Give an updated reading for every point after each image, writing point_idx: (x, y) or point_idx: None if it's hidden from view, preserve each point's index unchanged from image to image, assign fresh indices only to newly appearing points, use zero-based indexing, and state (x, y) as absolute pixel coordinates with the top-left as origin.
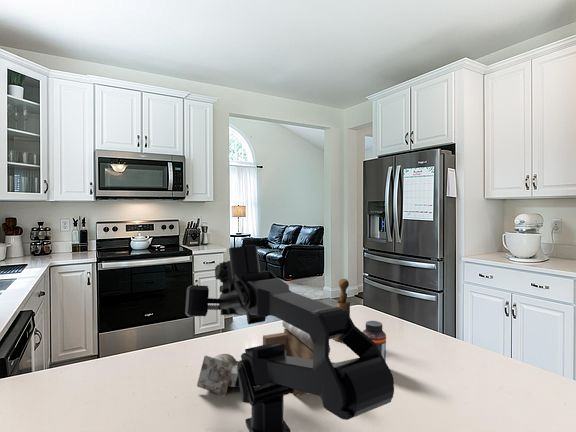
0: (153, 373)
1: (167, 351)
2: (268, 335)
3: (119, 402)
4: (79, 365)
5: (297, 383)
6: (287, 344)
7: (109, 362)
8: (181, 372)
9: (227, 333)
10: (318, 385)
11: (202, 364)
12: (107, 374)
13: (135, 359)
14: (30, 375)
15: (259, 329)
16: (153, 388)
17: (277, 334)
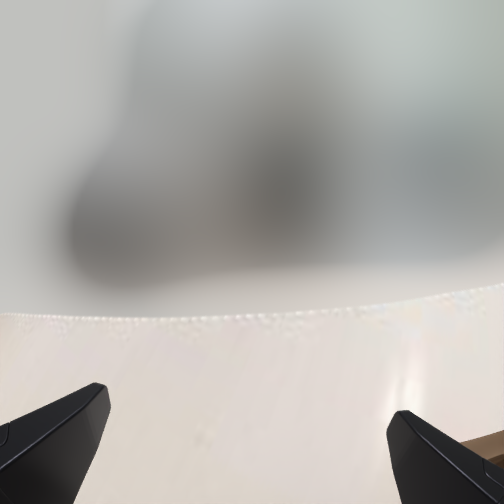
0: (116, 428)
1: (192, 345)
2: (469, 446)
3: None
4: (54, 323)
5: None
6: (501, 464)
7: (85, 336)
8: (171, 464)
9: (354, 310)
10: None
11: None
12: (58, 376)
13: (122, 348)
14: (11, 318)
15: (429, 312)
16: (85, 490)
17: (494, 441)
